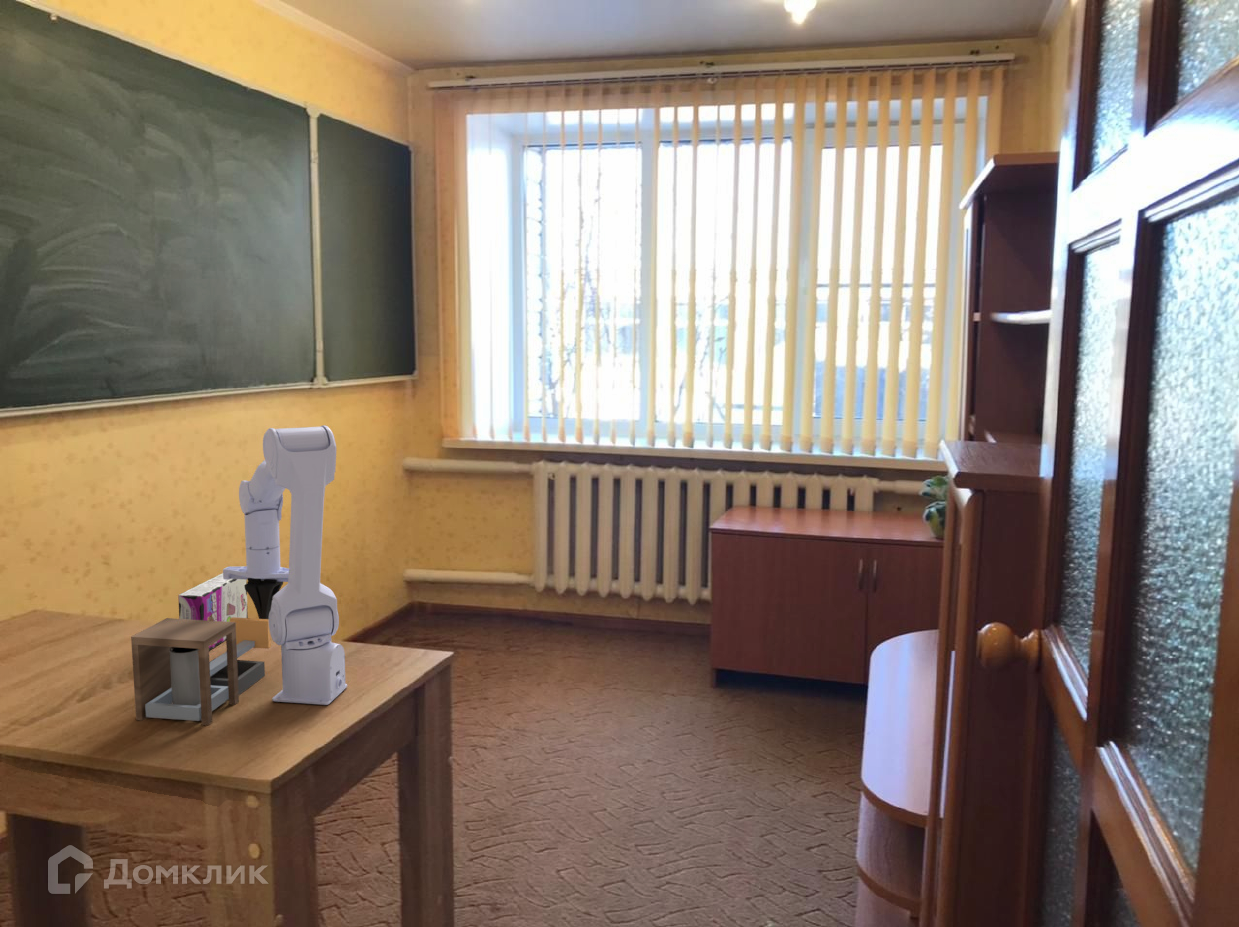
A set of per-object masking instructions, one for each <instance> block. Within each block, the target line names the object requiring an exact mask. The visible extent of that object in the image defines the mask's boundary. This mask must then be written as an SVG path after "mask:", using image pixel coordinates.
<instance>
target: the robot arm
mask: <svg viewBox="0 0 1239 927" xmlns="http://www.w3.org/2000/svg"><path fill="white" fill-rule="evenodd" d="M262 452H263V457H264V459H263V460H262V462H261V463H259V465H258V466H257V467H256V469H255V471H254V473H253V475H252V477H251V479H250V480H246V479H244V480H241V482H240V484H239V487H238V500H239V506H240V509H241V511H242V513H243V514H244V537H245V559H246V561H245V562H246V566H244V565H243V566H227V567H225V568H223V569H222V573H223V579H225V580H229V579H245V580H246V581H247V584H245V585H244V586H245V590H246V591H247V595H248V596H249V597H250V599H251V601H252V602H253V605H254V608H255V610H256V614H257V616H258V619H269V630H270V634H271V640H272V641H273V642H274V643H275V644H276V645H278V646H280V647H281V649H280V650H281V651H280V652H281V674H282V675H281V676H282V677H281V678H282V690H280V691H279V692H278V693H277V694H276V695H274V696H273V697H272V699H271V700H272V702H276V703H280V702H281V703H295V704H307V705H319V706H320V705H323V706H327V705H329V704H331V703H332V702H333V701H334V700H335V699H336V698H337V697H339V696H340V694H341V693H342V692H343V691H345V690H346V689H347V687H348V684H347V683H346V654H345V649H344V645H342V644H340V643H335V642H333V641H332V636H334V635H336V633H337V631H338V630H339V625H340V617H339V611H338V599H337V597H336V595H335V593H334V591H333V590H332V589H331V588H330V587H328V586H326V585H324V584H323V583H322V582H321V570H322V549H323V548H322V545H323V528H324V527H323V526H324V524H323V523H324V507H325V505H324V504H325V493H326V487H327V486H328V485H329V484H330V483H331V482H334V480H335V473H336V466H337V443H336V439H335V435H334V433H333V430H332V429H331V428H330V427H329V426H328V425H320V426H309V427H286V428H285V427H283V428H274V427H270V428H268V429H267V430H266V431H265V433H264V435H263V438H262ZM286 489H287V490H288V491H289V492H290V495H291V498H290V499H291V500H290V501H291V502H290V522H289V525H290V528H289V535H290V536H289V554H288V555H289V557H288V568H287V567H284V566H283V567H282V566H281V542H280V521H282V509H283V507H284V506H283V504H284V495H283V493H284V492H285V490H286ZM284 583H287V584H286V585H285V586H283V585H284ZM282 586H283V587H282Z"/></svg>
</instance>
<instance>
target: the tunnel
mask: <svg viewBox="0 0 1239 927" xmlns="http://www.w3.org/2000/svg"><path fill="white" fill-rule="evenodd" d="M225 636H226V640H225V642H226V644H225V645H226V651H227V668H228V691H229V699H228V705H236V704H237V703H239V701H240V695H239V691H238V668H237V660H238V658H237V645H236V622H223V621H206V620H190V619H179V618H170V617H167V618H164V619H162V620H161V621H158V622H156V623H154V624H153V625H151V626H149V627H146V629H143V630H141V631H140V632H137V633H136V634H134V635H132V636H130V638H131V639H130V641H131V657H132V659H131V661H132V671H133V673H132V674H133V676H132V677H133V688H134V689H133V691H134V707H135V708H134V709H135V720H136V721H143V720H145V719H147V718H148V717H146V709H145V704H147V703H148V702H150V701H151V700H153V699H155V698H156V697H158V696H159V695H161V694H162V693H164V692H165V691H167V690H168V689H170V688H171V670H170V651H169V650H170V648H171V647H180V648H196V649H198V659H199V679H200V699H201V725H202V726H209V725H210V724H212V723H213V711H212V703H211V682H210V650H209V646H210V645H212V644H213V643H215V642H217V641H218V640H220V639H221V638H223V637H225Z"/></svg>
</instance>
